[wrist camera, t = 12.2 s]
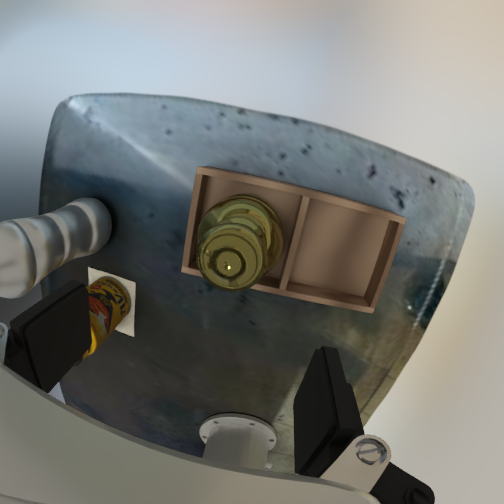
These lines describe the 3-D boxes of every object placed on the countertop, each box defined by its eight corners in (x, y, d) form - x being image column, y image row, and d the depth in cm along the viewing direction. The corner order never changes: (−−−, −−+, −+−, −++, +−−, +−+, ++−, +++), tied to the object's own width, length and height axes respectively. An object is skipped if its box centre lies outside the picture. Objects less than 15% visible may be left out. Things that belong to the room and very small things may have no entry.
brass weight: (236, 176, 26) (214, 184, 17) (298, 224, 27) (309, 256, 18) (194, 235, 29) (155, 271, 19) (252, 278, 29) (240, 332, 20)
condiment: (136, 281, 32) (81, 333, 21) (134, 336, 35) (92, 394, 23) (89, 266, 32) (28, 307, 21) (91, 319, 35) (43, 367, 23)
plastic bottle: (70, 223, 31) (-54, 281, 12) (94, 182, 29) (-51, 220, 10) (101, 258, 32) (-17, 341, 13) (128, 219, 30) (-13, 290, 11)
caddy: (392, 212, 27) (406, 218, 24) (364, 298, 30) (372, 313, 27) (206, 166, 27) (197, 166, 24) (191, 260, 30) (181, 271, 27)
